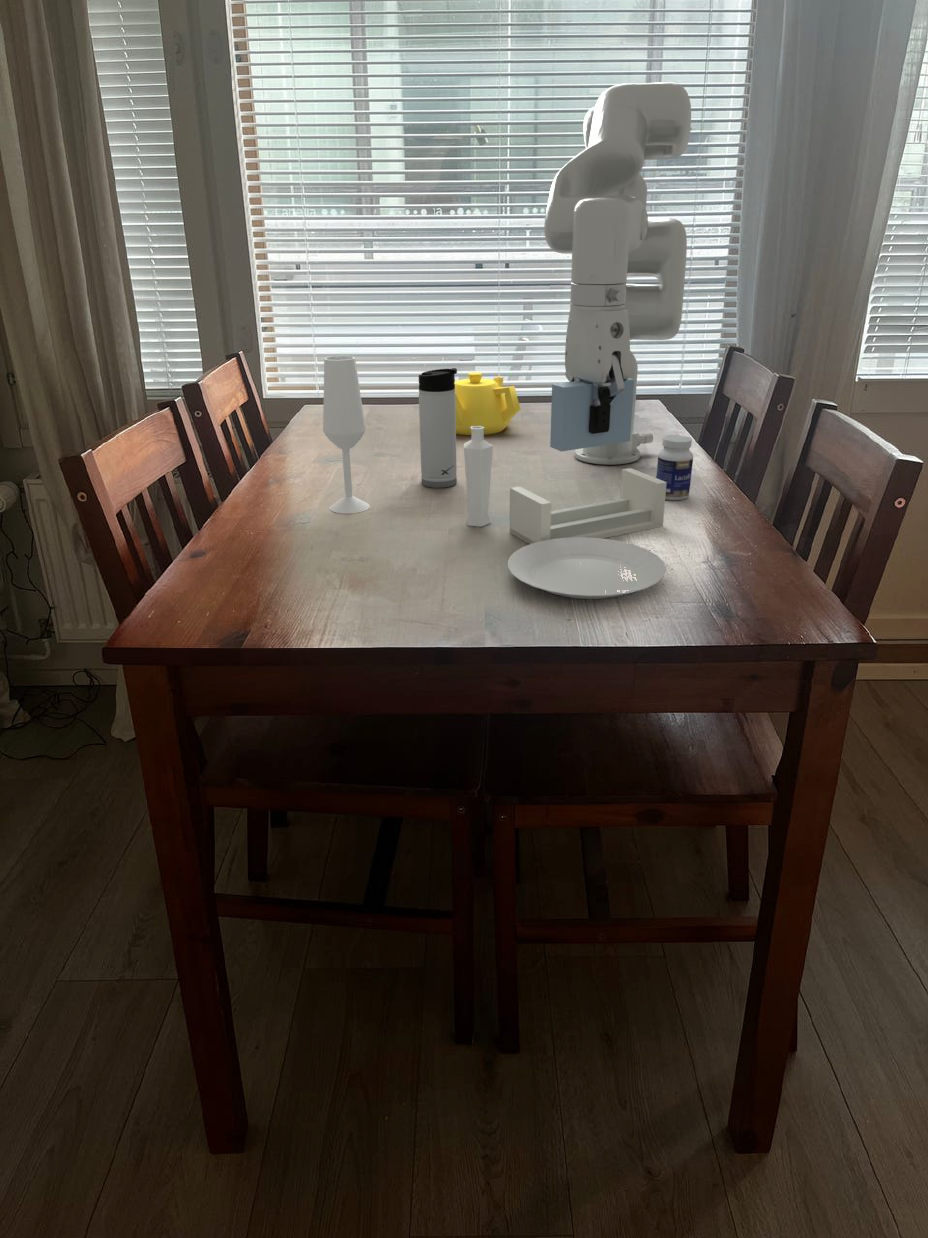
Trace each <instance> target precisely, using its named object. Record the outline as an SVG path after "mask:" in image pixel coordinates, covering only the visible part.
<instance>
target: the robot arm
mask: <svg viewBox="0 0 928 1238" xmlns="http://www.w3.org/2000/svg"><path fill="white" fill-rule="evenodd" d="M691 125H692V106H691V99H690V96H689V94H688V91H687V90H686V89H685V87H684V86H683V85H681V84H679V83H677V82H671V81H665V82H664V81H663V82H644V83H643V82H637V83H621V84H616V85H613V86H611V87H609V88H607V89H605V90H604V91H603V92H602V93H601V94H600V95H599V97H598V99H597V101H596V103H595V106H593V107H591V108H590V109H589V110H588V111H587V112H586V114H585V116H584V120H583V140H584V145H585V149H584V150H582V151H581V152H579V153H578V154H577V155H575V156H574V157H573V158H571V159H570V160H569V161H568V162H567V163H566V164H564V166H563V167H561V168H560V170H558V172H557V173H556V174H555V176H554V179H553V181H552V184H551V187H550V190H549V195H548V199H547V205H546V210H545V215H544V228H543V230H544V231H543V232H544V236H545V237H544V238H545V241H546V243H547V245H548V247H549V248H550V249H551V250H552V251H553V252H556V253H559V254H562V255H563V254H571V271H570V272H571V274H570V275H571V276H570V282H571V283H570V305H569V307H570V309H569V314H568V320H567V327H566V337H565V346H564V347H565V350H564V367H565V378H566V379H567V380H568V382H575V381H587V382H591V383H593V405H591V406H590V418H589V433H591V434H596V433H603V432H608V431H609V426H610V408H611V405H612V404H613V402H614V398H615V397H616V395H617V394H619V393H621V392H622V391H624V389H625V386H624V382H625V381H627V379H628V378H630V379H634V389H633V404H632V419H631V434H630V441H628V442H622V443H615V444H608V445H602V446H595V447H588V448H582V449H575V450H573V451H574V457H575V458H576V459H577V460H579V461H581V462H584V463H587V464H588V463H589V464H595V465H607V466H610V465H611V466H612V465H613V466H614V465H615V466H616V465H624V464H625V465H626V464H630V463H634V462H636V461H638V460H640V459H641V458H640V457H641V451H640V449H638V447H639V446H641V445H643V444H644V445H646V444H651V443H652V442H654V436H653V434H652V433H651V432H647V433H642V434H640V433H639V432H635V431H634V429H635V428H634V427H635V415H636V401H637V399H636V397H637V387H638V386H637V385H638V371H639V369H638V367H639V366H638V362H637V361H638V360H637V358H636V356H635V355H634V354H633V352H632V350H631V341H634V340H636V341H637V340H638V341H641V340H642V341H665V340H667V341H668V340H671V339H673V338H674V337H676V335H677V334H678V332H679V331H680V329H681V324H682V317H683V306H684V291H685V279H686V269H687V268H686V266H687V265H686V264H687V252H688V250H687V249H688V248H687V247H688V241H687V232H686V228H685V226H684V224H683V223H682V222H681V221H680V220H679V219H675V218H671V217H648V211H647V198H648V186H647V182H646V181H645V179H644V177H643V175H642V174H641V172H642V169H643V167H644V162H645V160H646V161H647V160H648V161H649V160H673V159H674V160H675V159H678V158H680V157H681V156H682V155H683V154H684V153H685V152H686V149H687V147H688V144H689V140H690V137H691V127H692V126H691ZM628 277H653V278H656V279H658V280H657V281H658V282H659V284H636V283H627V281H628ZM606 380H607V382H605V381H606ZM601 387H606V388H605V389H604V390H603V391H602V392H601Z"/></svg>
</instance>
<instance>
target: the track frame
mask: <svg viewBox="0 0 928 1238" xmlns="http://www.w3.org/2000/svg"><path fill="white" fill-rule="evenodd" d="M620 483H621V484H620V498H616V499H610V500H606V501H605V500H604V501H600V502H594V503H588V504H583V505H579V506H571V507H565V508H562V509H561V508H560V509H555V510H552V502H551V501H549V500H547V499H545V498H543V497H542V496H540V495H537V494H535V493H533V492H531V491H530V490H527V489H525V488H524V487H521V486H520V485H519V486H513V487H509V533H510V534H512V535H513V536H515V537H516V538H518V539H519V540H521V541H523V542H525V543H526V544H527V545H530V544H532V543H536V542H540V541H545V540H550V539H558V538H574V537H587V538H602V539H608V538H611V537H617V536H621V535H625V534H626V535H627V534H631V533H637V532H642V531H646V530H652V529H656V528H661V527H664V517H665V516H664V515H665V507H666V506H665V504H666V503H665V502H666V500H665V495H666V483H667V482H665V481H662V480H660V479H657V478H656V477H654V476H651V475H650V474H646V473H644V472H642V471H638V470H636V469H635V468H631V467H628V468H623V469H622V470H621V482H620Z"/></svg>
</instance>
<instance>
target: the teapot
mask: <svg viewBox="0 0 928 1238" xmlns="http://www.w3.org/2000/svg"><path fill="white" fill-rule="evenodd" d="M482 377H483V373H482V372H477V371H475V372H474V371H472V372H469V373H467V378H464V379H463V378H462V379H459V380H455V383H454V384H455V404H456V435H463V436H471V426H482V427H485V428H484V436H486V435H487V436H488V435H492V434H493V435H494V434H498V433H500V432H503V431H504V430H505V429H506V427H508V425H509V424H510V423H511V420H512V419H513V418H514V417H515V416H516V415H517V414H518V413H519V412H520V411H521V406H520V402H519V399H518V394H517V390H516V387H515V385H513V386H512V385H511V386H504V385H503V384H504V377H503V376H496V377H493V378H494V379H490V378H489V379H488V378H482Z"/></svg>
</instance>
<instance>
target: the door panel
mask: <svg viewBox="0 0 928 1238" xmlns="http://www.w3.org/2000/svg"><path fill="white" fill-rule="evenodd" d="M605 382H607V380H606V381H605ZM624 386H625V389H624V391H622V392H621V393H619V394H617V395H616V397H615V398H614V402H613V404H612V405H611V408H610V426H609V431H608V432H603V433H596V434H591V433H589V418H590V406H591V405H593V383H591V382H587V381H575V382H569V381H567V382H559V383H552V384H551V406H550V407H551V408H550V438H549V439H550V441H549V443H550V445H549V447H550V448H551V449H554V450H557V451H560V452H568V451H572V450H573V451H575V449H582V448H588V447H595V446H602V445H608V444H615V443H622V442H628V441H630V434H631V419H632V404H633V389H634V379H630V378H628V379H627V381H625V382H624ZM605 388H606V387H601V392H602V391H603V390H604V389H605Z"/></svg>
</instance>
